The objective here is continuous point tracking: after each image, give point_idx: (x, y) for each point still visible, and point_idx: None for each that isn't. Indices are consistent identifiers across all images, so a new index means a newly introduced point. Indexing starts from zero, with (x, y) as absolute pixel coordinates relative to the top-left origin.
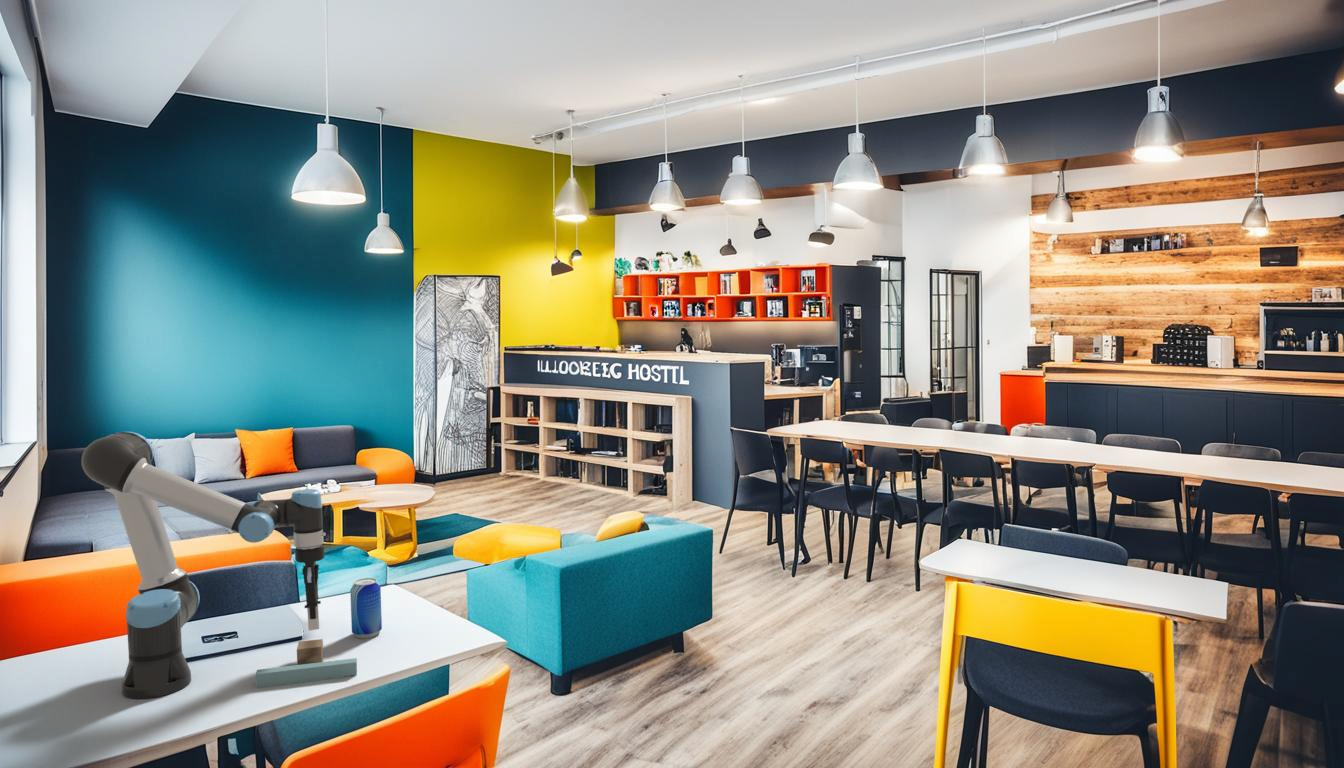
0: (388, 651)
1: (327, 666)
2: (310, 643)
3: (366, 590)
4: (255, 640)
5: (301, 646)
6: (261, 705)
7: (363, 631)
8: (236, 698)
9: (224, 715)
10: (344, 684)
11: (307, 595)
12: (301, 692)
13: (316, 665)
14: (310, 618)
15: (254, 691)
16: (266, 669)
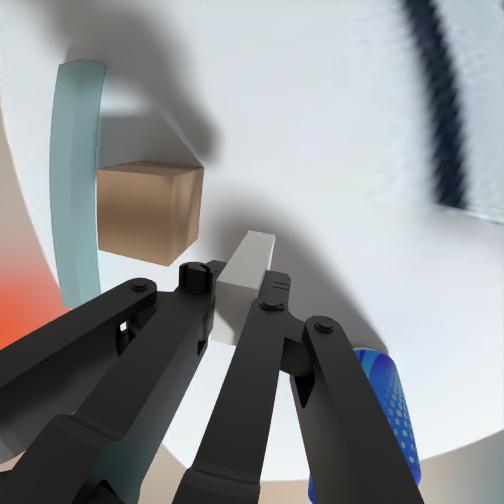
0: (197, 380)
1: (54, 243)
2: (135, 219)
3: (313, 497)
4: (487, 74)
5: (118, 186)
6: (16, 105)
7: None
8: (56, 45)
9: (13, 53)
10: (50, 259)
11: (55, 332)
12: (35, 175)
13: (58, 218)
14: (209, 263)
15: None
16: (73, 85)
